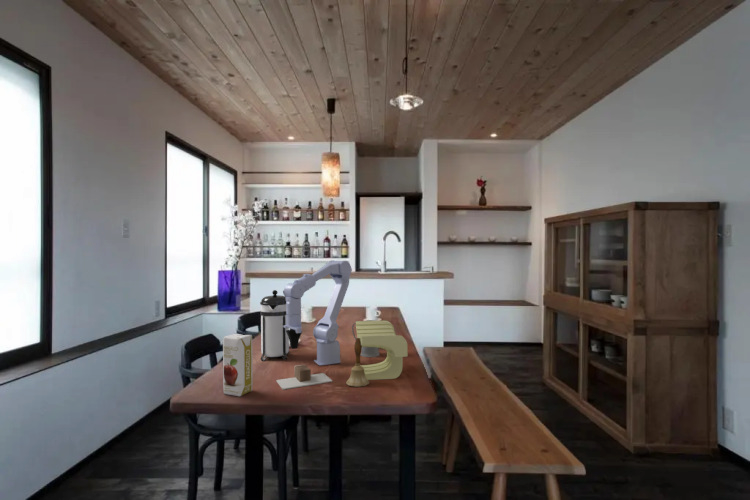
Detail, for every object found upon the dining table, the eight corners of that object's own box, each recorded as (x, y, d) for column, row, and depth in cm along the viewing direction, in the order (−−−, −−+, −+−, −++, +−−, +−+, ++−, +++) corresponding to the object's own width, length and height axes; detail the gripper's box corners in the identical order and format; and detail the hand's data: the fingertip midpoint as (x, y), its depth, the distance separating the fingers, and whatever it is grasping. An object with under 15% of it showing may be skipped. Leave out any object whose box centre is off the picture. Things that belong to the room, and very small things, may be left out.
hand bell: (357, 377, 147) (356, 334, 147) (374, 382, 142) (373, 337, 142) (341, 383, 140) (340, 338, 141) (358, 388, 135) (358, 342, 135)
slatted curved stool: (407, 386, 138) (407, 335, 138) (362, 388, 136) (361, 336, 136) (393, 362, 167) (393, 320, 167) (356, 363, 165) (355, 321, 166)
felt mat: (323, 374, 152) (323, 372, 152) (332, 381, 143) (332, 380, 143) (276, 381, 144) (276, 380, 144) (282, 389, 135) (282, 388, 135)
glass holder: (373, 358, 174) (372, 324, 174) (347, 353, 181) (346, 321, 181) (383, 353, 181) (383, 321, 181) (357, 349, 189) (357, 318, 189)
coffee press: (300, 356, 178) (300, 289, 178) (270, 363, 166) (270, 292, 166) (278, 349, 189) (278, 287, 189) (248, 356, 177) (248, 290, 177)
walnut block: (305, 364, 149) (310, 369, 143) (305, 375, 149) (310, 380, 143) (294, 365, 147) (299, 370, 141) (294, 376, 147) (299, 382, 141)
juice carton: (235, 387, 138) (235, 332, 138) (255, 390, 134) (255, 334, 134) (219, 394, 131) (219, 337, 131) (240, 398, 127) (240, 339, 127)
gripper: (279, 312, 160) (279, 345, 160) (288, 317, 148) (288, 353, 148) (296, 310, 164) (296, 343, 164) (306, 315, 151) (307, 351, 151)
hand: (294, 348), depth 156 cm, fingers closed
